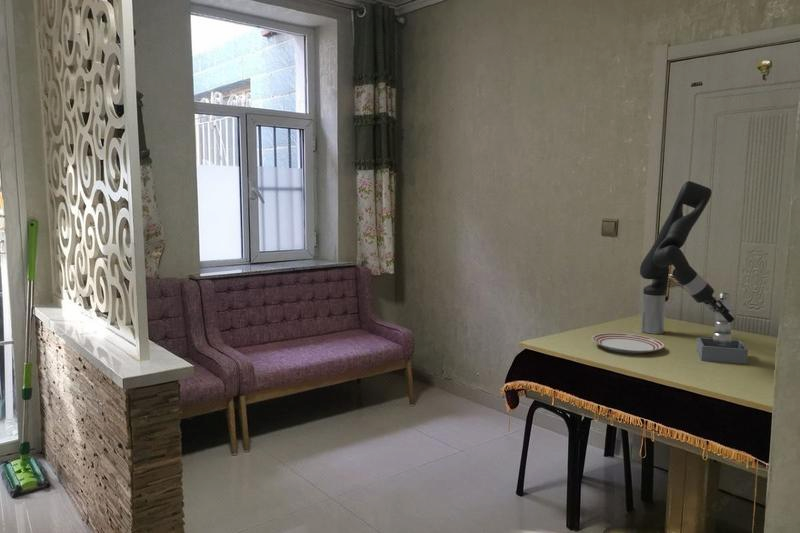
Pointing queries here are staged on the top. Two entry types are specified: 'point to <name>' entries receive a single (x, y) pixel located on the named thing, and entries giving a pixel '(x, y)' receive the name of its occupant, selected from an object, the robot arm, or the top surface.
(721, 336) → the plastic bottle
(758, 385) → the top surface
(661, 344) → the dinner plate
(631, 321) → the top surface
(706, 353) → the tray
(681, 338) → the top surface
